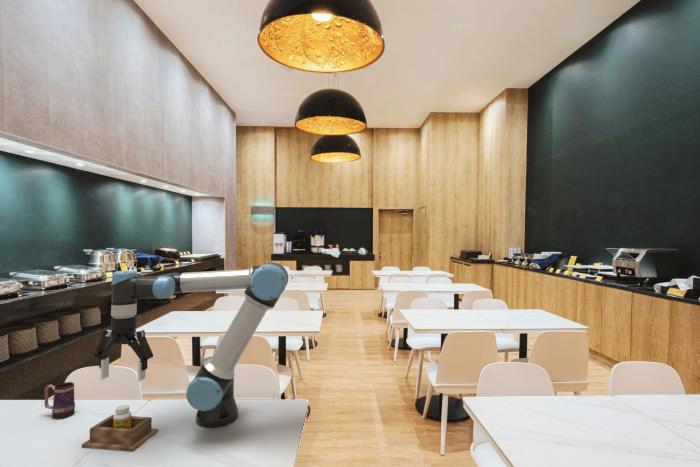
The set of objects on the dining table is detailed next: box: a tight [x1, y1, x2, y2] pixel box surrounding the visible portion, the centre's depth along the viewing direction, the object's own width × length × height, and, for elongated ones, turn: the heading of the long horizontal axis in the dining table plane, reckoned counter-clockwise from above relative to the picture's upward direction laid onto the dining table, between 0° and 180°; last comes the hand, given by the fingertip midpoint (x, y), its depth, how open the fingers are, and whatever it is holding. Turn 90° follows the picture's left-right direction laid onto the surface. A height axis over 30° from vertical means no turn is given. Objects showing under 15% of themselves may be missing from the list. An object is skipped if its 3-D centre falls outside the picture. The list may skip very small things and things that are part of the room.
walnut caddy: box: [81, 414, 159, 452], centre depth 129 cm, size 18×13×6 cm
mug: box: [43, 381, 76, 420], centre depth 146 cm, size 10×7×12 cm
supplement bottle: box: [113, 404, 132, 429], centre depth 129 cm, size 5×5×10 cm
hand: (123, 378), depth 129 cm, fingers open, 13 cm apart
